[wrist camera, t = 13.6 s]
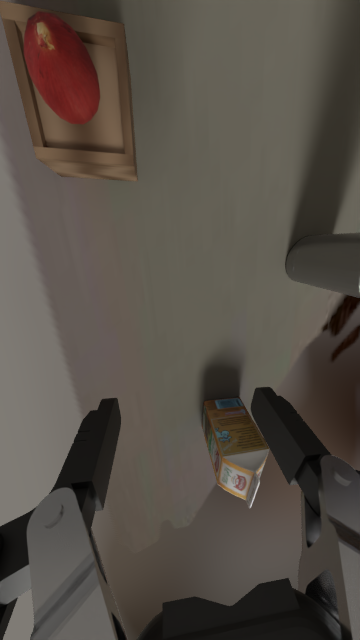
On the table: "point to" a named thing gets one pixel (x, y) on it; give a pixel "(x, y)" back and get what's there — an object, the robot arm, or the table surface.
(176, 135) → the table surface
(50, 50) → the onion
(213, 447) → the milk carton
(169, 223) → the table surface
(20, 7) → the wooden tray
